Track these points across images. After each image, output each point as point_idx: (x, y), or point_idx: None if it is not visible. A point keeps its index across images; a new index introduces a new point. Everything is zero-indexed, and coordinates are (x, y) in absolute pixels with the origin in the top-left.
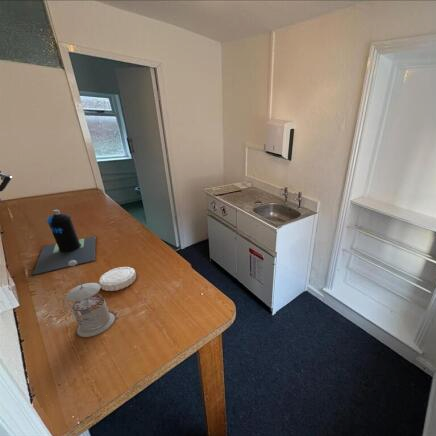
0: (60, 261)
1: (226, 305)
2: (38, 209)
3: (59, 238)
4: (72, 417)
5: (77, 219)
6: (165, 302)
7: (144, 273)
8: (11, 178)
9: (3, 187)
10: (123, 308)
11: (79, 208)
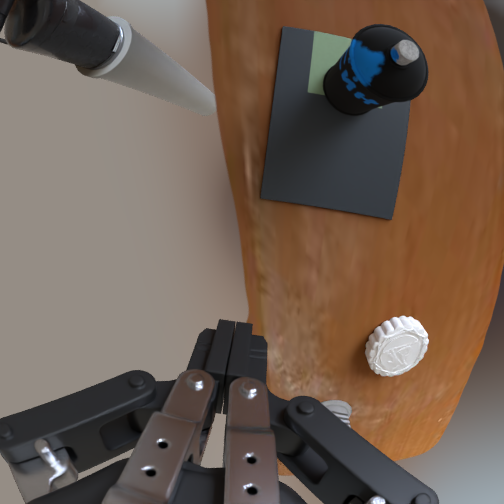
0: (322, 164)
1: (436, 441)
2: None
3: (349, 100)
4: (284, 473)
5: None
6: (405, 417)
7: (433, 341)
8: (418, 489)
9: (318, 464)
10: (366, 405)
11: None
